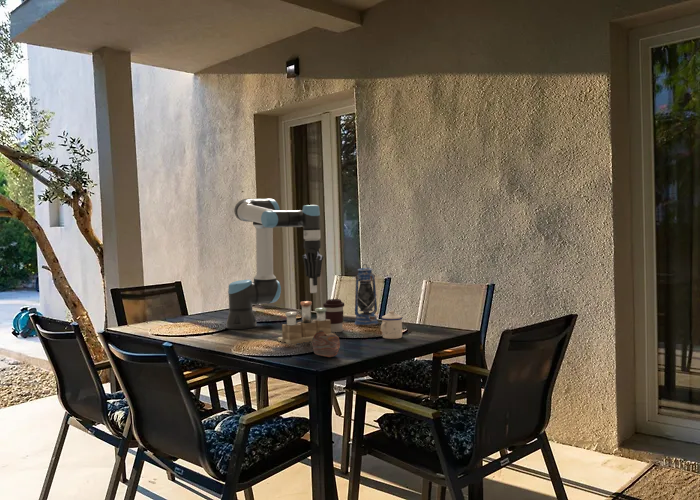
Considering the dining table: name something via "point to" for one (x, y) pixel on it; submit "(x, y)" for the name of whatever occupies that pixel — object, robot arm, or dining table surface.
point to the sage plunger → (321, 314)
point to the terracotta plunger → (306, 311)
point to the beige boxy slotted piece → (304, 331)
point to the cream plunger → (291, 318)
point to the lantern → (365, 297)
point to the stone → (325, 344)
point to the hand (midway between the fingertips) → (313, 292)
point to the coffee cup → (334, 314)
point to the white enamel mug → (391, 326)
